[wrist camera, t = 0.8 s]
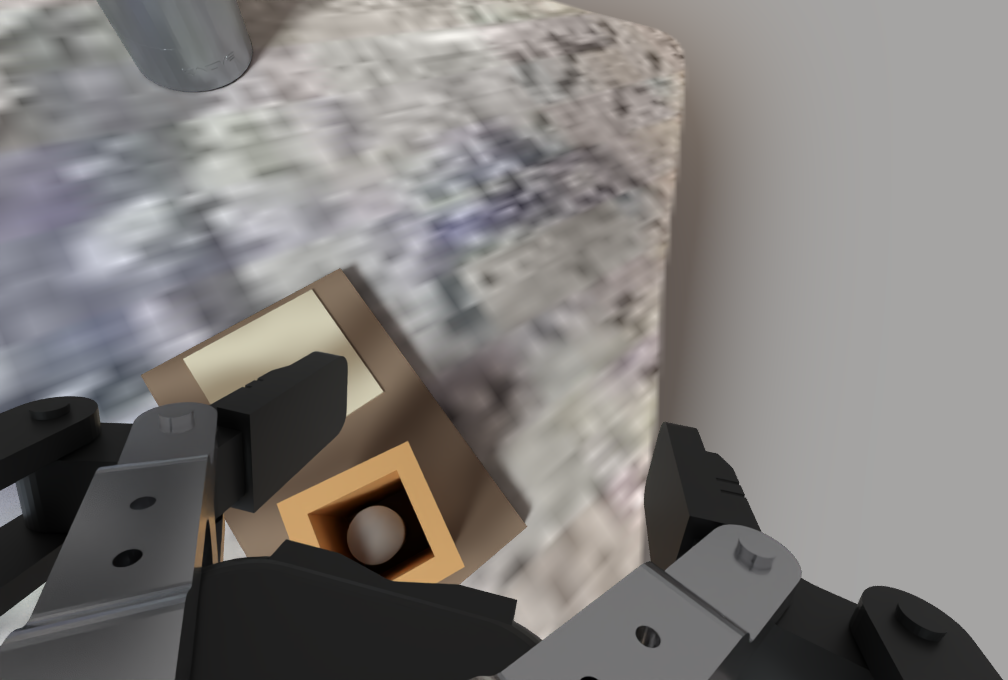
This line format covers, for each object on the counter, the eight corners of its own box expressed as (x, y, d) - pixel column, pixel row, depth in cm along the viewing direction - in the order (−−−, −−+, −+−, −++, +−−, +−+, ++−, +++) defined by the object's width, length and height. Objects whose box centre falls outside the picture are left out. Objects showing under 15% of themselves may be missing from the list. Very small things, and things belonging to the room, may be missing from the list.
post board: (152, 381, 32) (36, 319, 22) (343, 277, 37) (315, 189, 27) (333, 687, 28) (286, 773, 18) (522, 526, 33) (565, 526, 23)
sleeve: (361, 602, 28) (328, 645, 18) (326, 511, 30) (276, 503, 20) (450, 552, 30) (464, 566, 20) (412, 468, 31) (407, 440, 21)
